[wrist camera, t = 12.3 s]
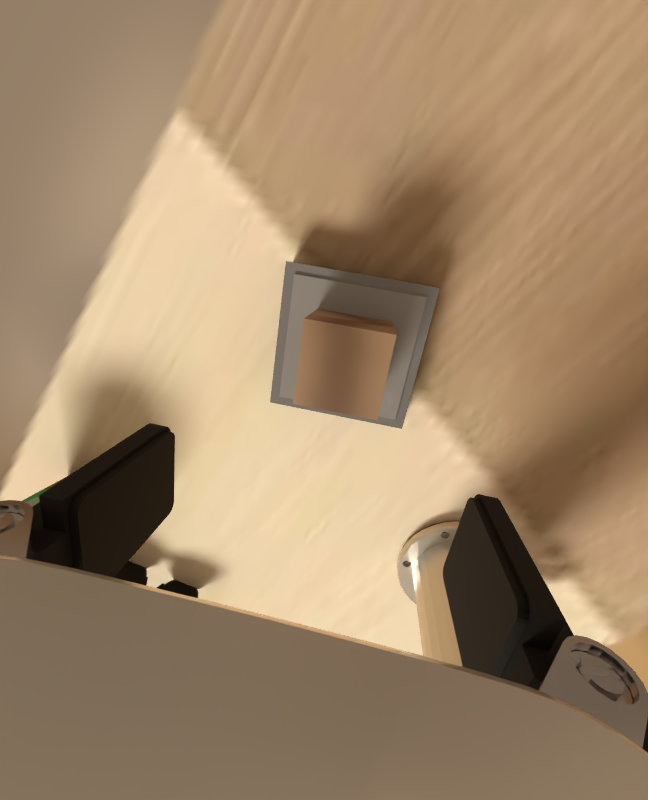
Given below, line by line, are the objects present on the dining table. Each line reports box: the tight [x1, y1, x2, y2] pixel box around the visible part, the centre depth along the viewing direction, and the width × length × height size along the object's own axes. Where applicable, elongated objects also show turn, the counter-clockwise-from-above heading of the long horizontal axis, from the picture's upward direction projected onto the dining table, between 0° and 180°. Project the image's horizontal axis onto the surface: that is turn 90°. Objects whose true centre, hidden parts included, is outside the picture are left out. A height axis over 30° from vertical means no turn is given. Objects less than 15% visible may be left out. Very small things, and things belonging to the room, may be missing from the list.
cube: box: [293, 309, 397, 420], centre depth 26 cm, size 6×6×6 cm
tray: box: [270, 261, 440, 429], centre depth 30 cm, size 12×12×3 cm
